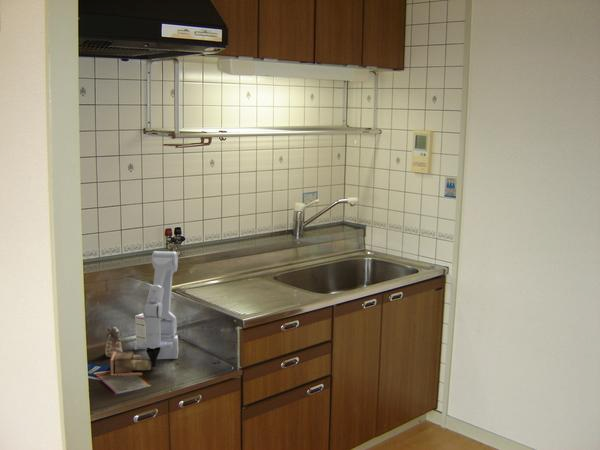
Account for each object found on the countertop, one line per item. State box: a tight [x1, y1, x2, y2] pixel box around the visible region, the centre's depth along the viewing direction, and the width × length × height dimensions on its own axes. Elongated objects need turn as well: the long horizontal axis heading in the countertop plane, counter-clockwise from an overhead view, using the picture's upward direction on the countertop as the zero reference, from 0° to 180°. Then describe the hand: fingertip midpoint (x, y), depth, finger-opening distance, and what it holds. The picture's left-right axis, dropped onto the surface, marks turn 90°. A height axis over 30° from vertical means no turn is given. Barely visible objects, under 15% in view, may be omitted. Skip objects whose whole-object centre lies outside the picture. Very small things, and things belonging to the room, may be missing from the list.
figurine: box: [104, 326, 124, 358], centre depth 294 cm, size 7×7×12 cm
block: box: [115, 351, 134, 373], centre depth 277 cm, size 6×9×6 cm, turn 7°
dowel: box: [131, 359, 152, 372], centre depth 277 cm, size 12×4×4 cm, turn 97°
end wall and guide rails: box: [109, 352, 143, 377], centre depth 277 cm, size 12×12×6 cm
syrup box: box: [134, 312, 146, 343], centre depth 304 cm, size 6×6×14 cm
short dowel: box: [133, 354, 142, 360], centre depth 286 cm, size 8×3×3 cm, turn 97°
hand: (153, 365), depth 278 cm, fingers closed
